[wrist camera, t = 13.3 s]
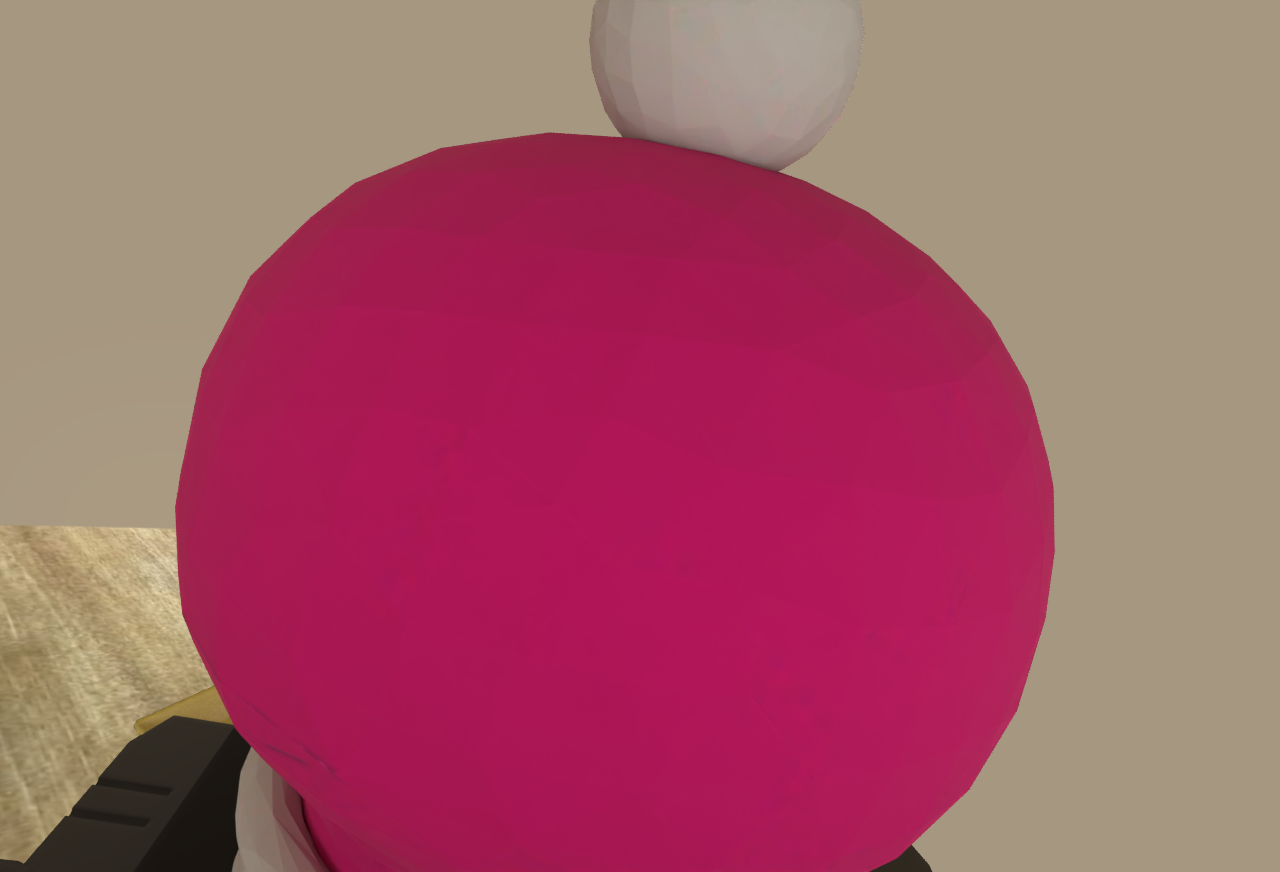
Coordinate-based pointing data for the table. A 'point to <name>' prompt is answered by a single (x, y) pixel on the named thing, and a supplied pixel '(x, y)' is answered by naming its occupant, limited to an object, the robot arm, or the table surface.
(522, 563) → the pepper mill
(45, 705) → the table surface
